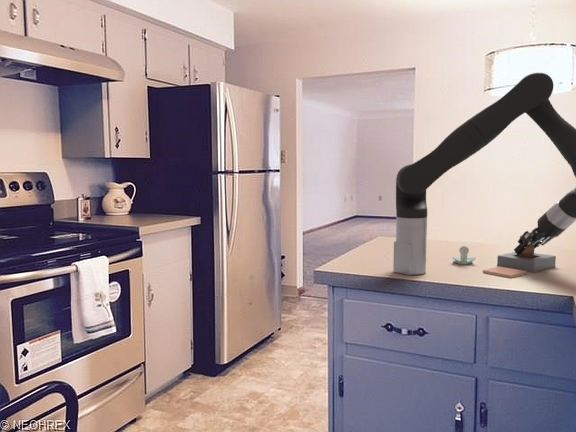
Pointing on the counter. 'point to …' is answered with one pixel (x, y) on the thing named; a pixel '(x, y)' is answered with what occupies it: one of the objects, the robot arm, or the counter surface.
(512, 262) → the pocket holder
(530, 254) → the walnut peg
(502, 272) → the terracotta tile
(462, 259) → the pacifier
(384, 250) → the counter surface
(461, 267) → the counter surface
